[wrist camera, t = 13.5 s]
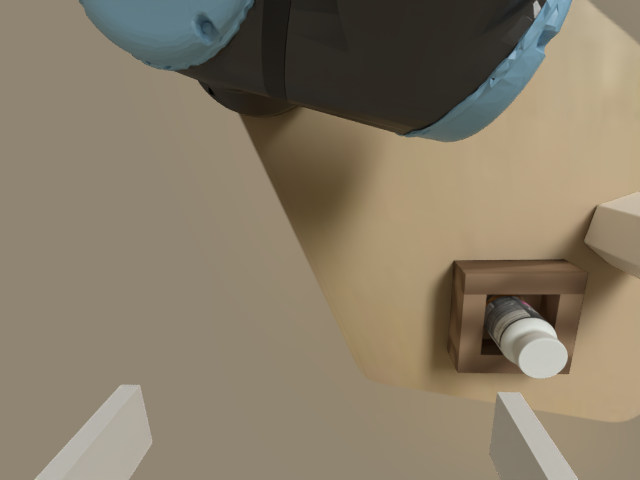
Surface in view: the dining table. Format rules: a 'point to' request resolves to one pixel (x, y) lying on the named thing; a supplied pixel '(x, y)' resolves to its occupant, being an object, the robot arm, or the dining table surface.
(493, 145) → the dining table surface
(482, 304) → the socket block
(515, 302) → the pill bottle
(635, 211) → the jar
